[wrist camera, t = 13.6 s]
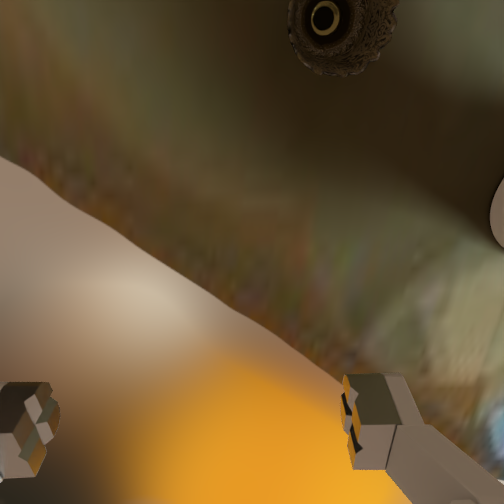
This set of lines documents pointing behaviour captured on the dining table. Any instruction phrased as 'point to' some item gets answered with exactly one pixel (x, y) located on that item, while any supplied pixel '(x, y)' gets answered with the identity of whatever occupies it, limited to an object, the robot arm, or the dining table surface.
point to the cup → (341, 34)
